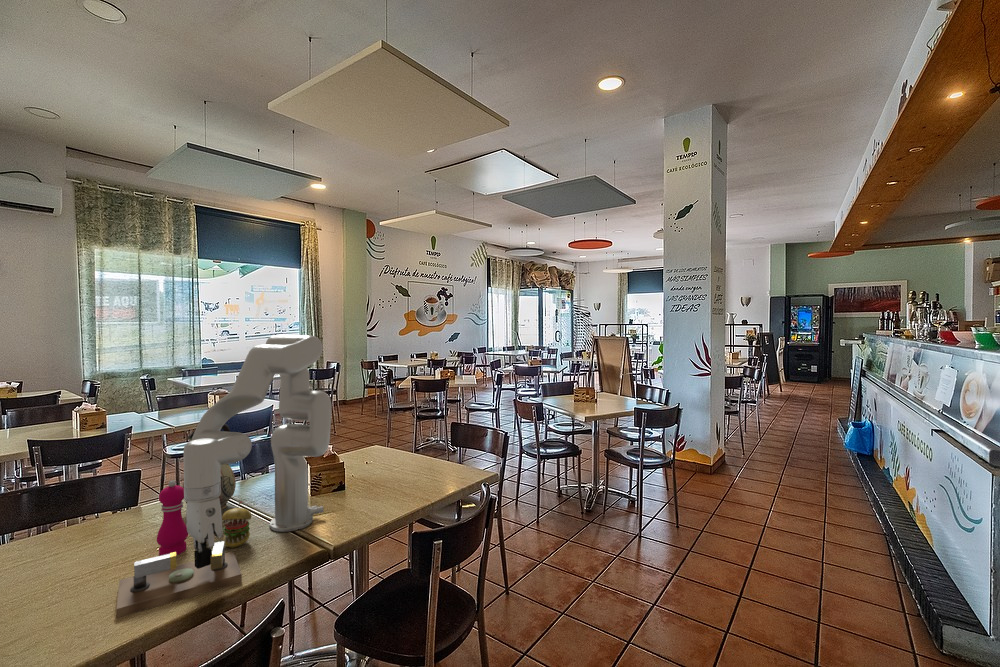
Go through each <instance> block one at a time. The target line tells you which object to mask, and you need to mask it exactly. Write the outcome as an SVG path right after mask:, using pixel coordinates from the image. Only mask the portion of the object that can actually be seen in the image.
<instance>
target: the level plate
mask: <svg viewBox="0 0 1000 667" xmlns="http://www.w3.org/2000/svg"><path fill="white" fill-rule="evenodd" d="M224 554H225V565H224V566H222V568H218V569H213V570H211V564H210V565H208V566H205V567H202V568H199V569H197V568H196V567H195V560H194V561H190V562H185V563H181V564H176V565H177V568H176V569H172V570H167V571H163V572H159V573H155V574H151V575H147V576H146V581H147V584H146V586H144V587H142V588H139V589H134V579H133V577H134V575H133V576H130V577H126V578H123V579H119V581H118V582H119V583H118V592H117V599H116V600H117V601H116V619H119V618H121V617H125V616H128V615H131V614H132V615H133V614H135V613H139V612H143V611H146V610H150V609H152V608H156V607H160V606H164V605H167V604H171V603H173V602H177V601H180V600H184V599H187V598H191V597H195V596H198V595H201V594H205V593H209V592H212V591H215V590H219V589H221V588H226V587H230V586H232V585H236V584H240V583H242V576H243V575H242V572H241V568H240V565H239V563H238V560H237V557H236V555H235V552H234V551H229V552H225V553H224Z"/></svg>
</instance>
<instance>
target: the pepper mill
mask: <svg viewBox="0 0 1000 667" xmlns="http://www.w3.org/2000/svg"><path fill="white" fill-rule="evenodd" d="M183 500H184V488H183V486H181V485H177V481H176V480H170V481H168V484H167V486H166V487H164V488H163V489H162V490H161V491H160V493H159V495H158V501H159V502H160V503H161V512H162V513H163V516H162V522H161V525H160V528H159V529H158V531H157V535H156V544H158V545H159V548H158V556H162V555H166V554H170V553H173V552H176V556H178V555H180V554H182V553H184V552H185V551H186V550H187V542H186V539H187V538H188V536H189V534H188V532H187V526H186V523H185V520H184V519H183V516H182V515H183V514H182V508H183V507H184V501H183Z"/></svg>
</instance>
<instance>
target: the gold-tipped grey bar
mask: <svg viewBox="0 0 1000 667" xmlns="http://www.w3.org/2000/svg"><path fill="white" fill-rule="evenodd" d="M214 544H215V546H214V547H212V555H211V570H213V569H218V568H222V566H224V565H225V553H226V550H225V547H226V546H225V541H223V540H222V541H217V542H214Z"/></svg>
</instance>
